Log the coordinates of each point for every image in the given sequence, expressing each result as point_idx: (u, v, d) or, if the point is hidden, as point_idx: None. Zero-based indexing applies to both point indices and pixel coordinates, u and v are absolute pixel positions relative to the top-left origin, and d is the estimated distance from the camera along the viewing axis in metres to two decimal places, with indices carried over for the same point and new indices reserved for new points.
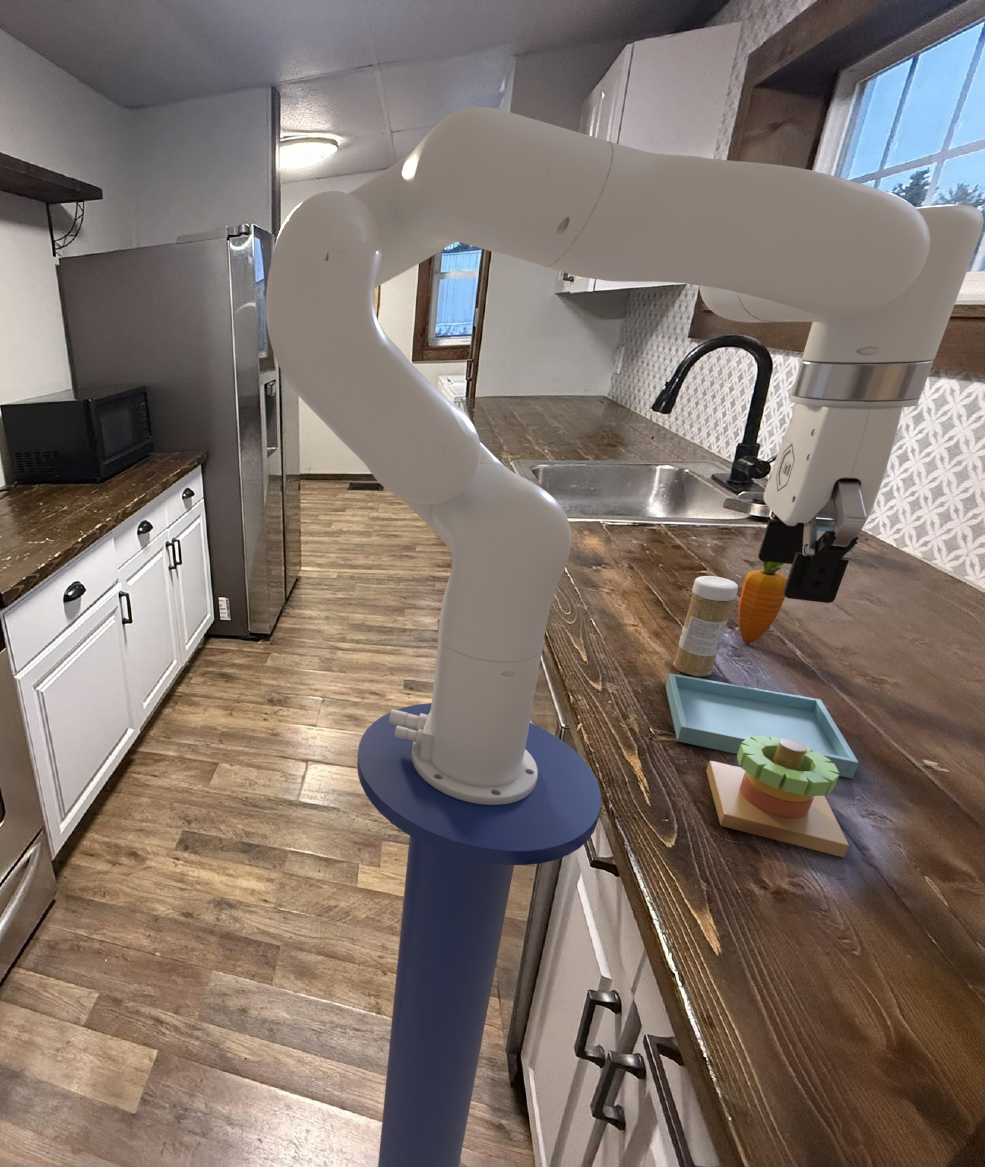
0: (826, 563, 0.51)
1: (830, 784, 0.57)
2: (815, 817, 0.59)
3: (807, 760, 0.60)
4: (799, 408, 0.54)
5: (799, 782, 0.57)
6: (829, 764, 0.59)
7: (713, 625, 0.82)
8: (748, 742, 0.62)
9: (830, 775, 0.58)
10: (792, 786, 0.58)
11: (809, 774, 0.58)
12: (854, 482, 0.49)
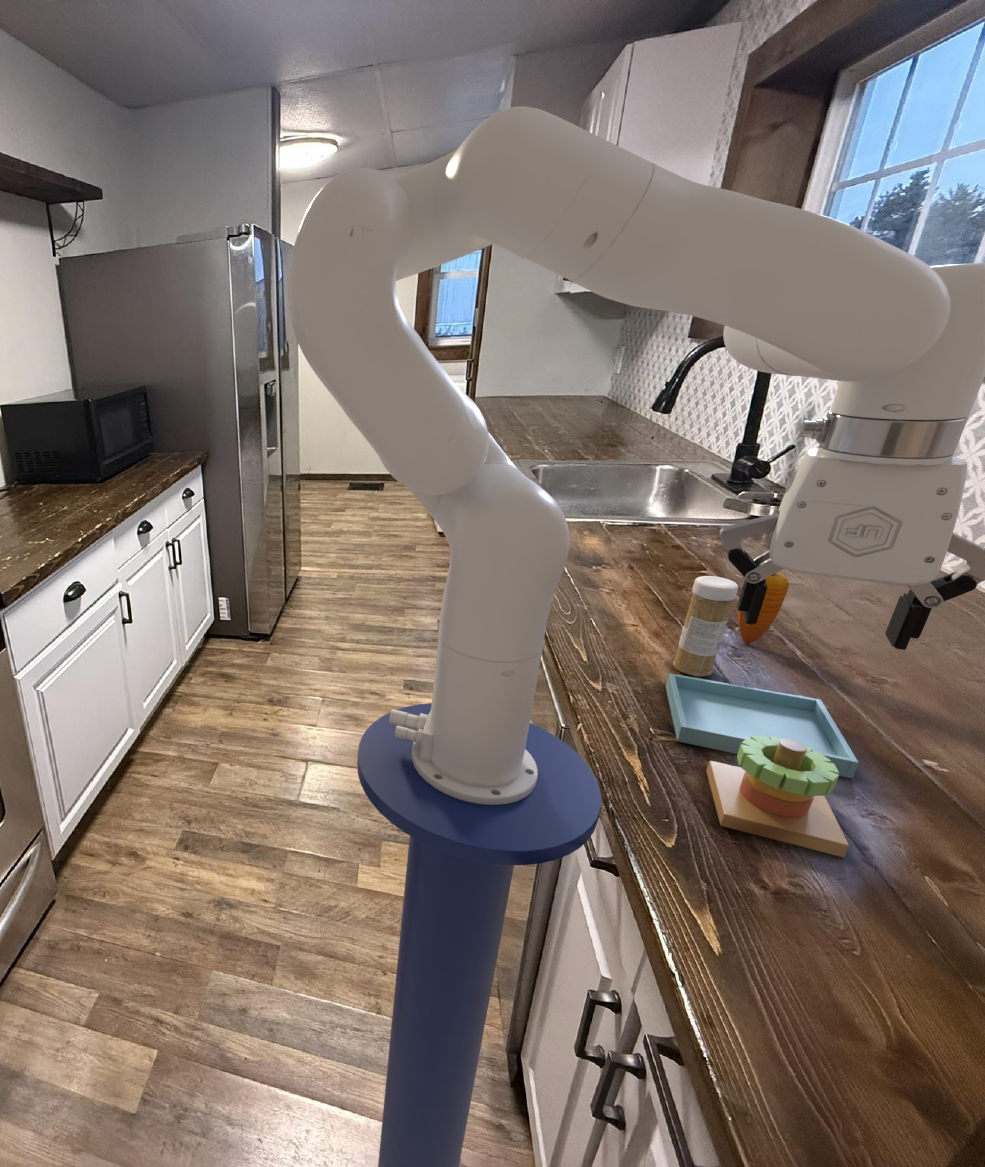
0: None
1: (830, 784, 0.57)
2: (815, 817, 0.59)
3: (807, 760, 0.60)
4: (853, 469, 0.49)
5: (799, 782, 0.57)
6: (829, 764, 0.59)
7: (713, 625, 0.82)
8: (748, 742, 0.62)
9: (830, 775, 0.58)
10: (792, 786, 0.58)
11: (809, 774, 0.58)
12: None
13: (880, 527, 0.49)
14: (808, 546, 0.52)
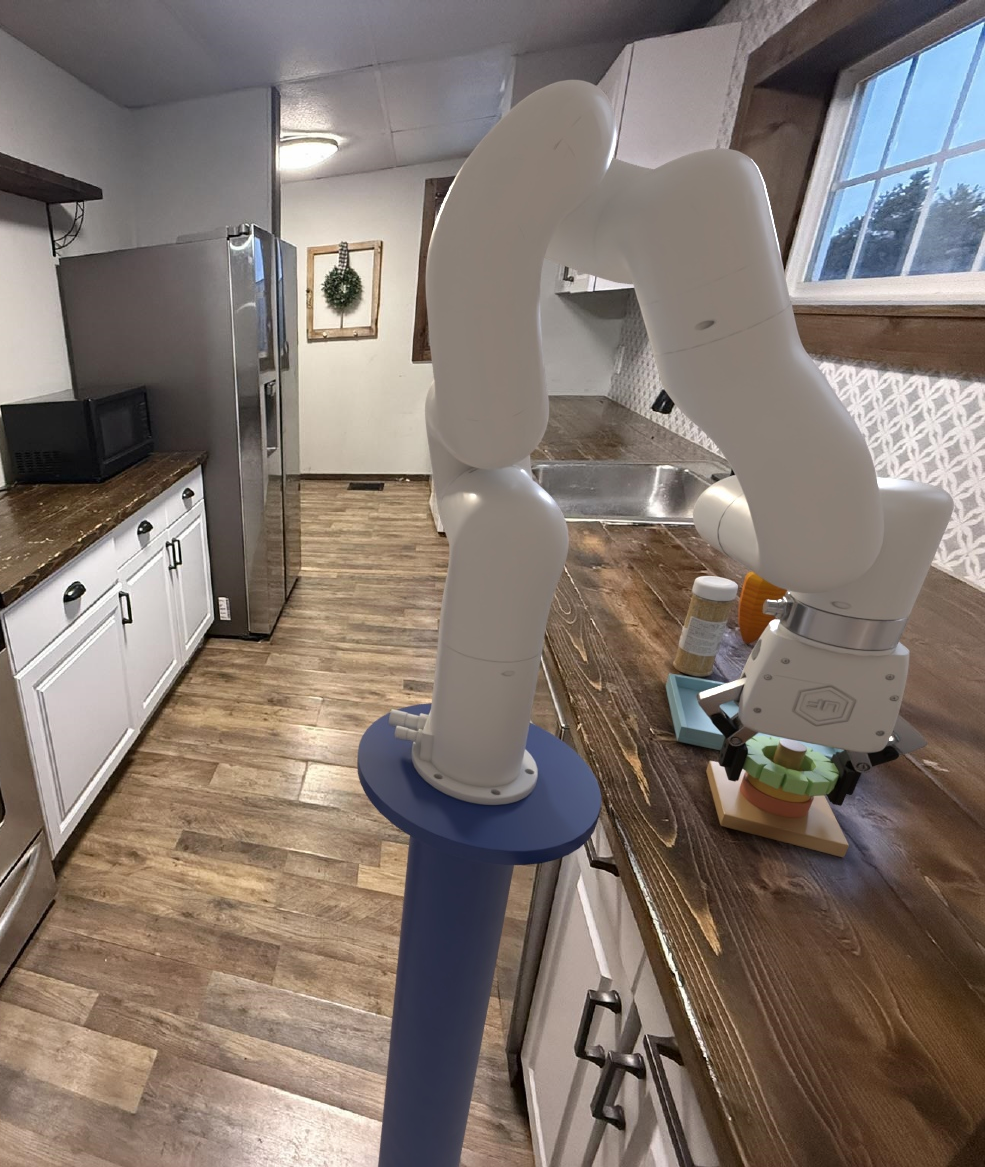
0: None
1: (830, 784, 0.57)
2: (815, 817, 0.59)
3: (807, 760, 0.60)
4: (813, 652, 0.54)
5: (799, 782, 0.57)
6: (829, 764, 0.59)
7: (713, 625, 0.82)
8: (748, 742, 0.62)
9: (830, 775, 0.58)
10: (792, 786, 0.58)
11: (809, 774, 0.58)
12: None
13: (837, 703, 0.54)
14: (774, 713, 0.57)
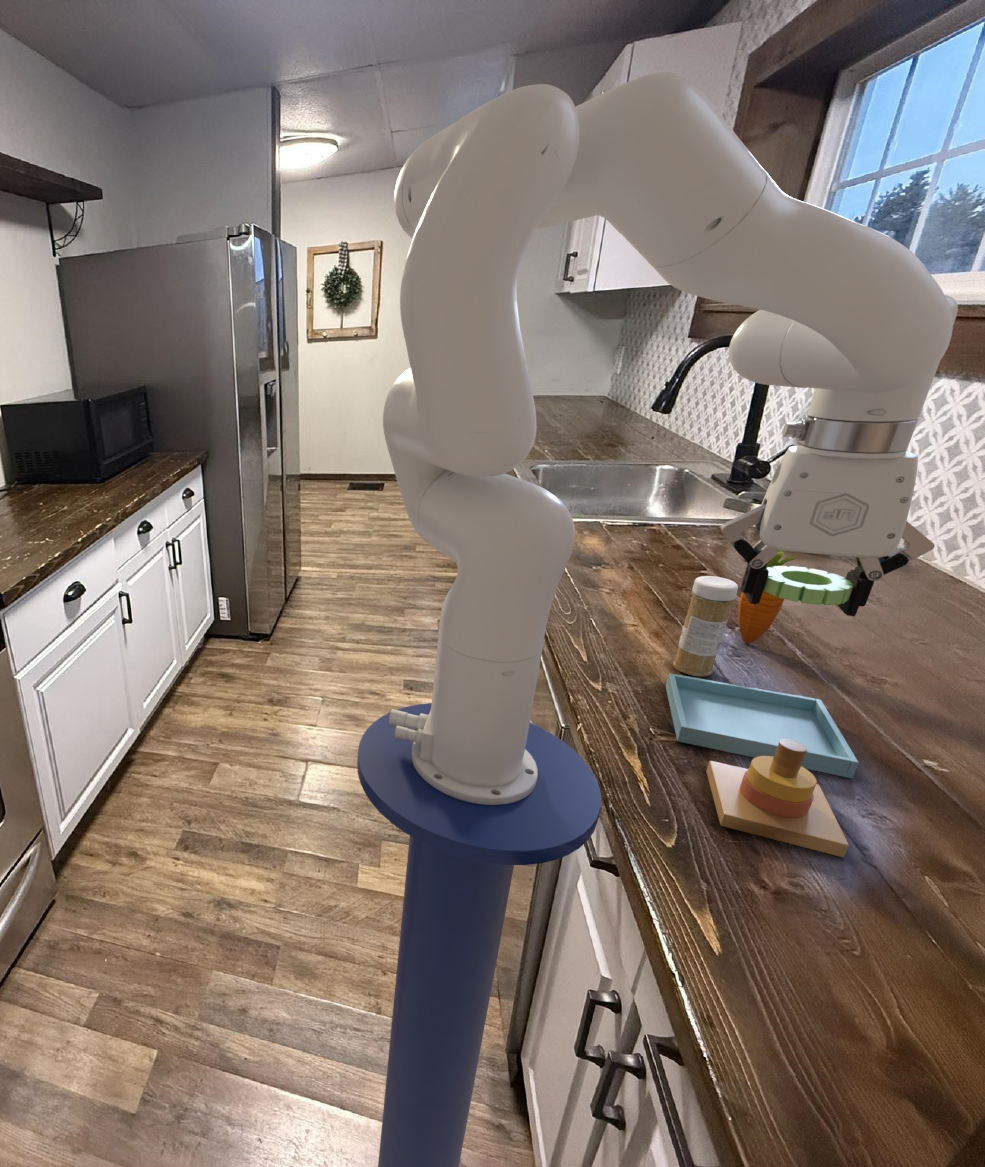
0: None
1: (845, 593, 0.62)
2: (815, 817, 0.59)
3: (824, 580, 0.65)
4: (830, 463, 0.59)
5: (816, 592, 0.63)
6: (844, 580, 0.64)
7: (713, 625, 0.82)
8: (768, 569, 0.68)
9: (845, 586, 0.63)
10: (810, 597, 0.63)
11: (826, 586, 0.63)
12: None
13: (852, 510, 0.60)
14: (793, 528, 0.62)
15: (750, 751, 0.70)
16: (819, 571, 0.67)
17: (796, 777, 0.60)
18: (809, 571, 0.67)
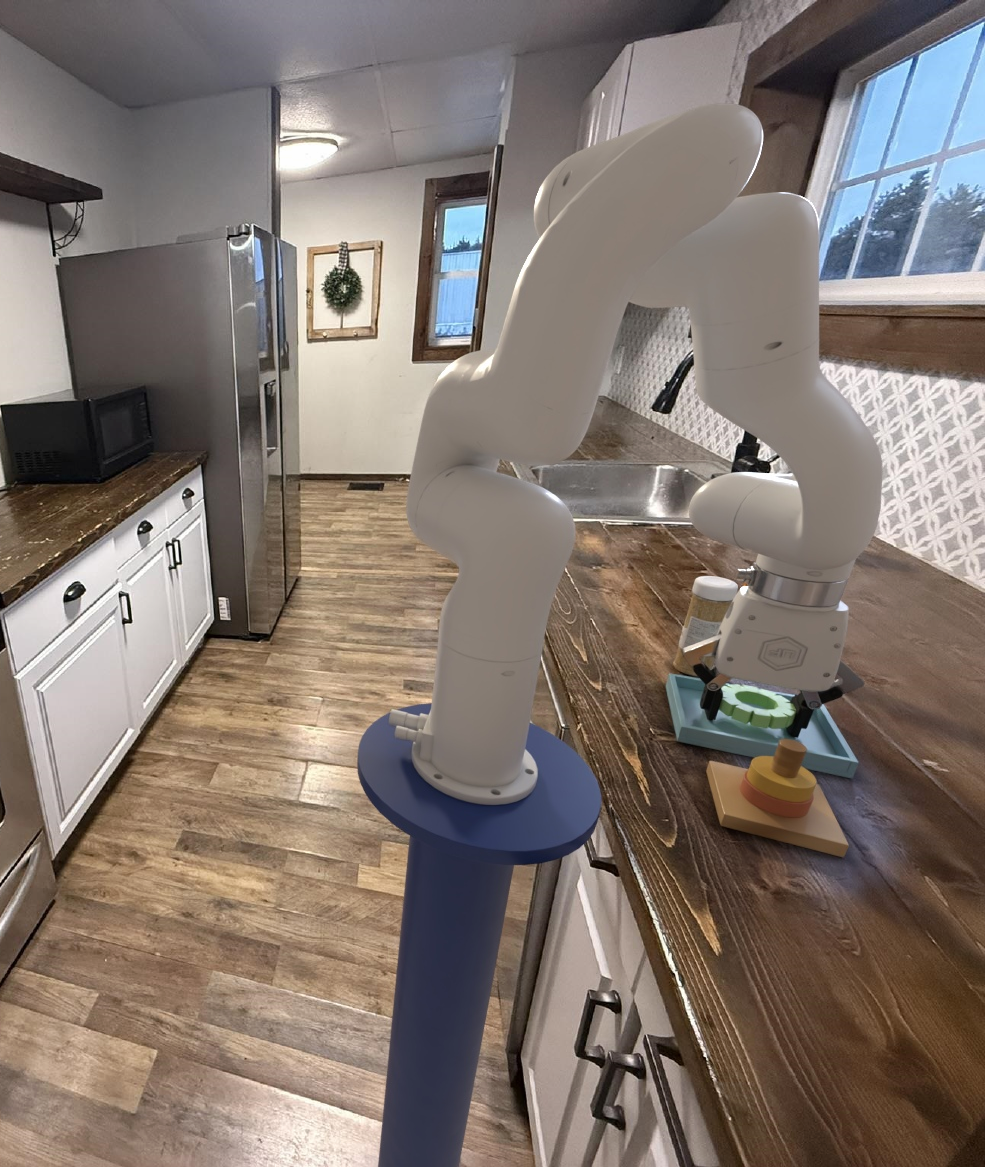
0: None
1: (789, 719, 0.70)
2: (815, 817, 0.59)
3: (771, 702, 0.73)
4: (774, 610, 0.67)
5: (763, 717, 0.71)
6: (789, 704, 0.72)
7: (713, 625, 0.82)
8: (724, 689, 0.76)
9: (789, 712, 0.71)
10: (758, 721, 0.71)
11: (772, 711, 0.71)
12: None
13: (793, 651, 0.68)
14: (743, 661, 0.70)
15: (750, 751, 0.70)
16: (768, 692, 0.75)
17: (796, 777, 0.60)
18: (759, 692, 0.75)
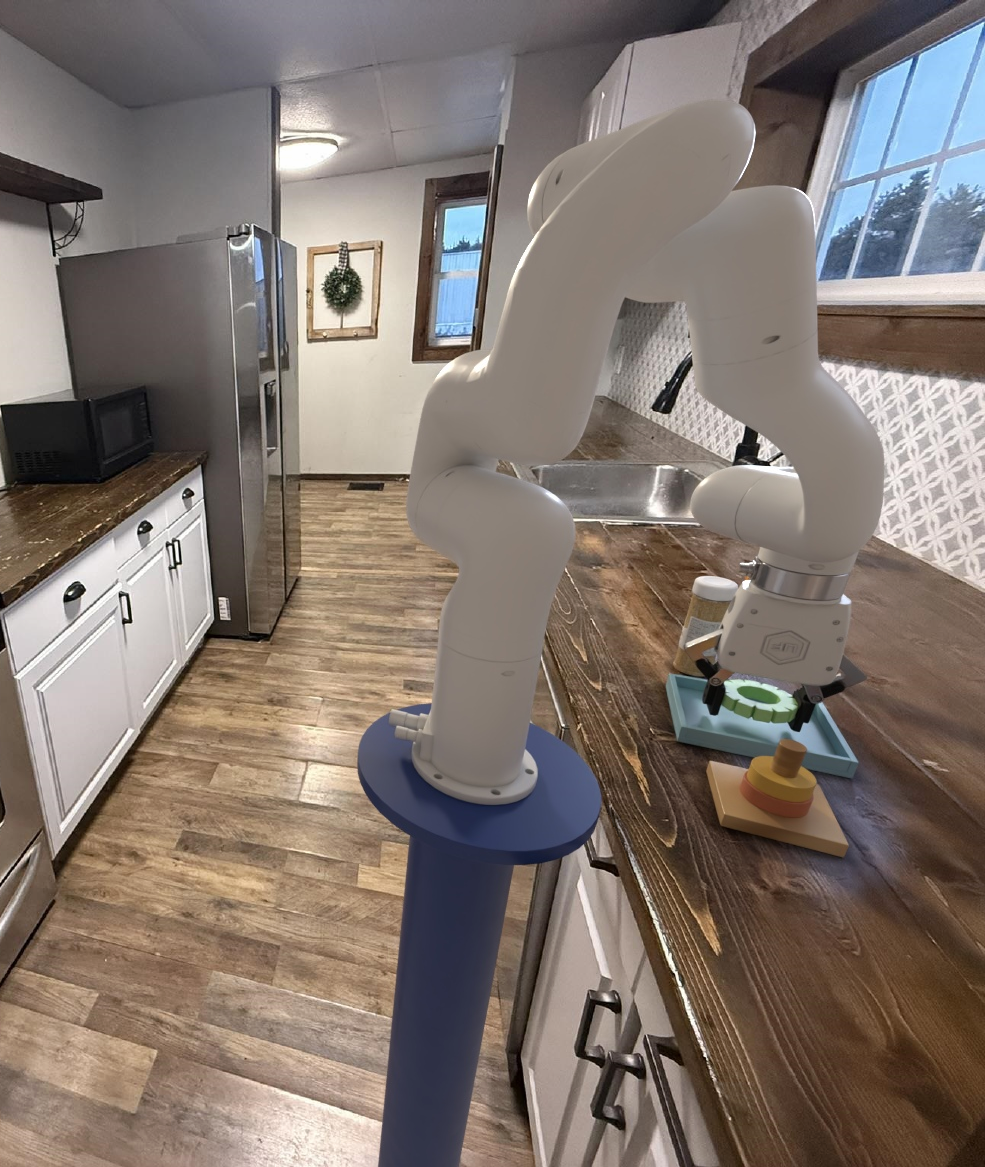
0: None
1: (791, 713, 0.70)
2: (815, 817, 0.59)
3: (774, 696, 0.73)
4: (776, 603, 0.67)
5: (766, 712, 0.70)
6: (791, 699, 0.72)
7: (713, 625, 0.82)
8: (726, 684, 0.75)
9: (791, 706, 0.71)
10: (760, 715, 0.71)
11: (774, 706, 0.71)
12: None
13: (795, 645, 0.67)
14: (745, 655, 0.70)
15: (750, 751, 0.70)
16: (770, 687, 0.74)
17: (796, 777, 0.60)
18: (761, 687, 0.75)
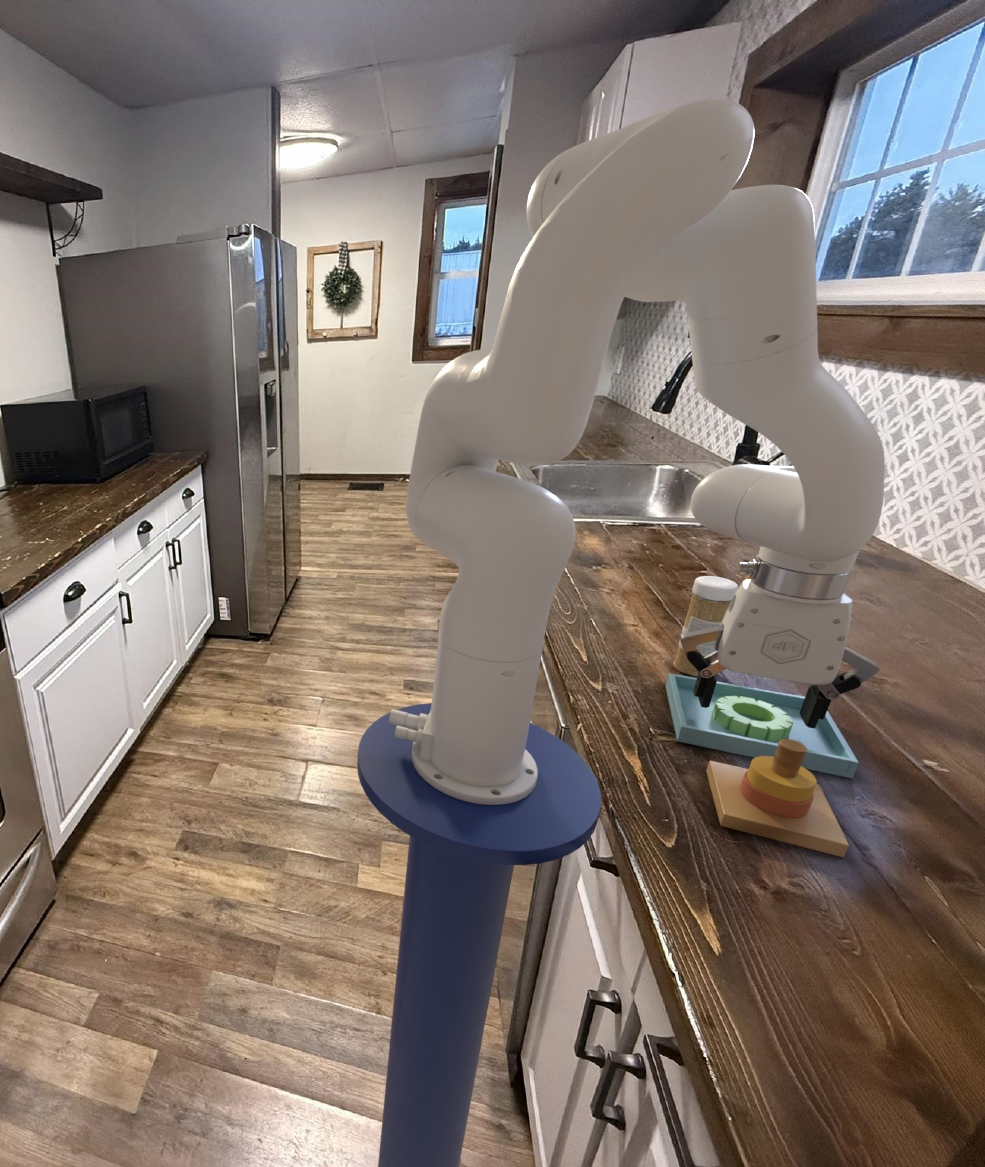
0: None
1: (785, 731, 0.71)
2: (815, 817, 0.59)
3: (768, 713, 0.74)
4: (776, 603, 0.67)
5: (760, 729, 0.71)
6: (785, 716, 0.73)
7: (713, 625, 0.82)
8: (721, 700, 0.76)
9: (785, 724, 0.72)
10: (755, 733, 0.72)
11: (769, 723, 0.72)
12: None
13: (796, 644, 0.67)
14: (746, 655, 0.70)
15: (750, 751, 0.70)
16: (765, 704, 0.75)
17: (796, 777, 0.60)
18: (756, 704, 0.75)
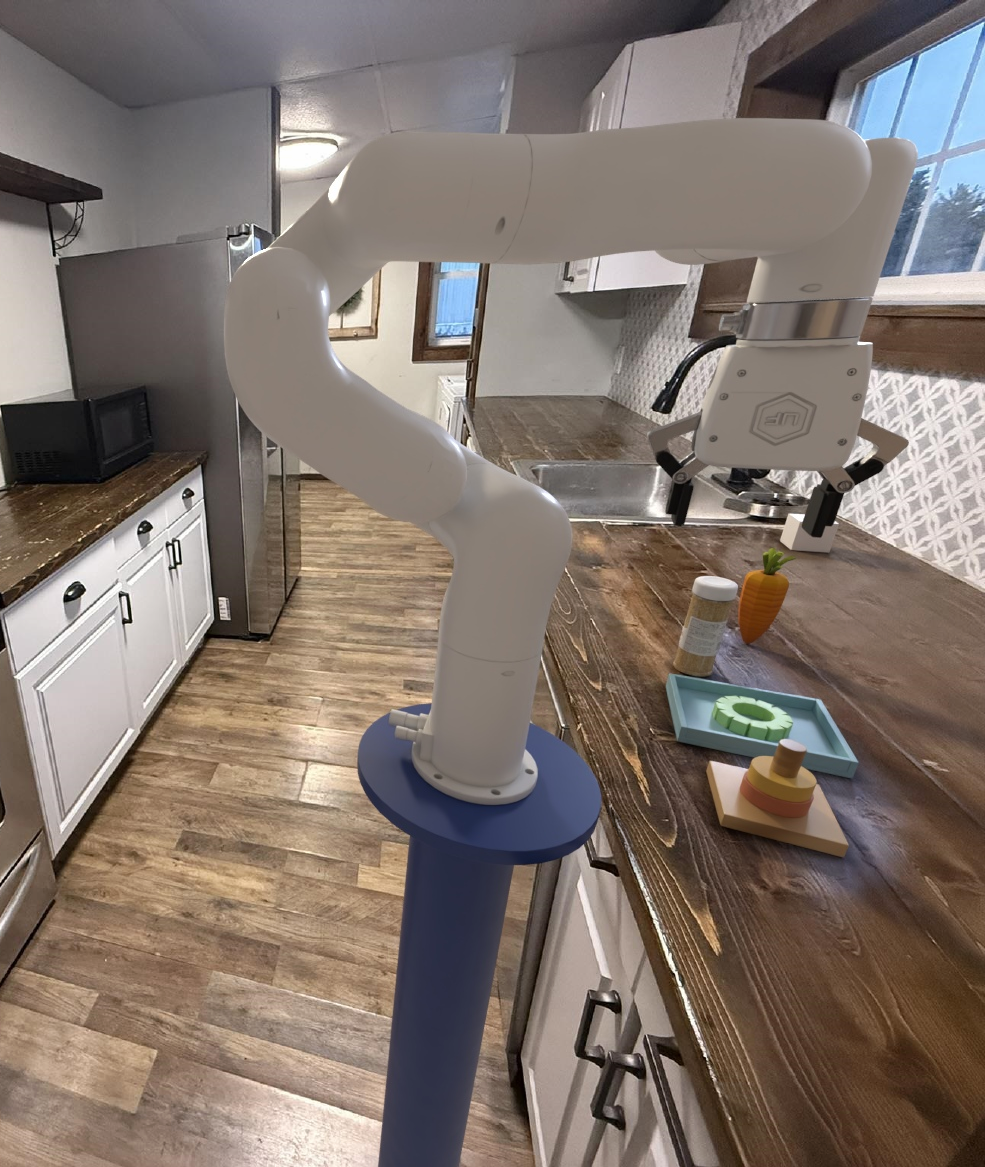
0: None
1: (785, 731, 0.71)
2: (815, 817, 0.59)
3: (768, 713, 0.74)
4: (771, 356, 0.50)
5: (760, 729, 0.71)
6: (785, 716, 0.73)
7: (713, 625, 0.82)
8: (721, 700, 0.76)
9: (785, 724, 0.72)
10: (755, 733, 0.72)
11: (769, 723, 0.72)
12: None
13: (797, 413, 0.50)
14: (731, 438, 0.53)
15: (750, 751, 0.70)
16: (765, 704, 0.75)
17: (796, 777, 0.60)
18: (756, 704, 0.75)
